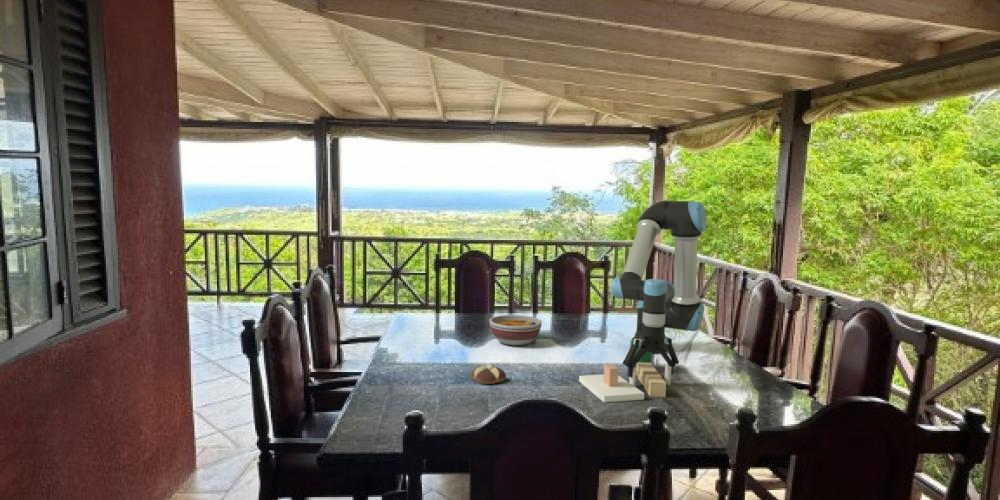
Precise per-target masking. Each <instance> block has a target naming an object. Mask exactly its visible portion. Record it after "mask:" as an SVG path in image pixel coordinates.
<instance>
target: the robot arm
mask: <svg viewBox="0 0 1000 500" xmlns="http://www.w3.org/2000/svg"><path fill="white" fill-rule="evenodd" d="M636 229H637V231H636V234H635V236H634V240H633V243H632V245H631V248H630V251H629V253H628V256H627V258H626V259H627V260H626V263H625V265H624V268H623V271H622V274H621V277H619V276H618V277H614V278H613V279H612V281H611V286H610V292H611V295H612V297H614V298H616V299H622V300H631V301H638V302H637V307H636V308H637V314H636V315H637V317H636V318H637V319H636V331H635V333H634V336H633V337H642V338H641V339H636V338H633V337H632V338H633V342H632V346H631V347H630V346H629V350H628V352H627V353H626V355H625V358H624V359H623V361H622V365H624V366H625V367H627V376H628V377H629V378H628V379H629V381H628V382H629V383H630V384H632V385H633V386H634V387H636V377H637V376H636V368H634V367H635V365H636V364H637V363H638V362H639V360H640V359H641V358H642V357H643V355H644V354H646V353H647V352H652V353H654V354H655V355H656V354H658V353H660V356H661V357H662V358H663V360H664V361H665V363H667V364H665V365H664V378H663V380H664V381H665V382H666V386H670V385H671V382H672V381H671V380H672V375H673V374H674V367H676V365H679V363H680V361H679V358H678V357H677V354H676V350H675V349H674V346H673V339H672V338H670V337H669V336H666V334H665V333H666V332H665V330H666V329H665V328H668V329H674V330H680V331H686V332H688V331H689V332H697V331H698V330H699V329H700V327H701V324H702V321H703V318H704V317H703V316H704V312H705V305H704V304H703V303H701V300H700V297H699V296H697V269H698V268H697V267H698V266H697V261H698V239H699V238H701V236H702V234H703V232H705V231H706V230H707V214H706V207H705V206H704V204H703V203H702V202H701V201H692V200H660V201H657V202H655V203H653V204H651V205H649V207H648V208H646V209H645V210H644V211H643V212H642V214H641V215H640V217H639V218H638V221H637V224H636ZM662 230H669V231H670V236H671V237H672V238H673V239H674V268H673V269H674V271H673V272H674V274H673V276H674V277H673V283H674V284H673V283H671V282H669V281H666V280H664V279H658V278H649V279H645V280H643V277H644V274H645V271H646V270H647V269H646V268H647V267H648V266H647V265H648V263H649V259H650V256H651V253H652V251H653V247H654V244H655V241H656V238H657V236H658V235H660V233H661V231H662ZM640 343H641V344H642V345H641V347H640V348H639V350H638V352H637V353H636V351H637V349H638V347H639V345H640ZM667 352H668V353H667ZM635 353H636V354H635ZM668 354H669V355H668ZM658 355H659V354H658Z"/></svg>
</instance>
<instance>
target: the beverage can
mask: <svg viewBox="0 0 1000 500" xmlns="http://www.w3.org/2000/svg"><path fill="white" fill-rule="evenodd" d="M633 338H636V339H641V338H642V337H634V336H633V337H632V338H631V340H630V344H629V345H630V346H629V348H630V347H631V346H632V342H633ZM641 345H642V344H641V343H640V345H639V347H638V349H637V351H636V353H637V352H638V350H639V348H640V347H641ZM636 353H635V354H636ZM652 355H653V354H652V352H647V353H646V354H644V355H643V357H642V358H641V359H640V360H639V362H640V363H651V364H652V359H653V357H652ZM636 367H637V364H636V365H635V367H634V368H636Z"/></svg>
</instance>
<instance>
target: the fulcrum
mask: <svg viewBox="0 0 1000 500" xmlns="http://www.w3.org/2000/svg"><path fill="white" fill-rule="evenodd" d="M603 367H604V369H603V374H588V375H586V374H585V375H579V379H578V382H579V383H580V384H582V385H583V386H584V387H585V388H586V389H587V390H589V391H590V392H591V393H592V394H594V396H596V397H597V398H598V399H599V400H600V401H602V402H603V403H614V402H629V401H640V400H641V401H642V400H645V393H644V392H643V391H642V390H640V389H639V388H637V387H636V386H635V387H634V386H633V385H632V384H630V383H629V381H627V380H626V379H624V378H623V377H622V376H620V375H619V368H618V367H617V366H615V365H614V364H604V366H603Z"/></svg>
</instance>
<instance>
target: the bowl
mask: <svg viewBox="0 0 1000 500" xmlns="http://www.w3.org/2000/svg"><path fill="white" fill-rule="evenodd" d="M542 323H543V322H542V320H541V319H539V318H537V317H534V316H529V315H521V314H505V315H497V316H493V317H491V318H489V327H490V330H491V332H492V334H493V336H494V337H495V339H496V340H498V341H499V342H500V343H501V344H503V345H508V346H525V345H528V344H530V343H532V342H533V341H534V340H535V339H536V338H537V337H538V335H539V334H540V331H541V329H542Z"/></svg>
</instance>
